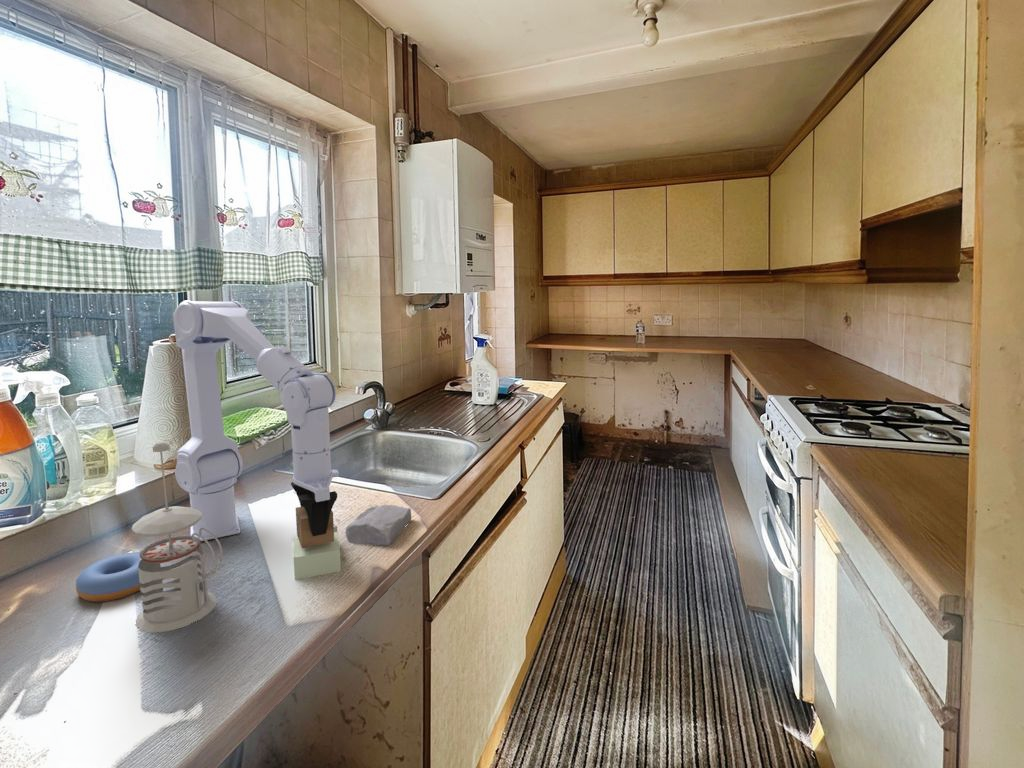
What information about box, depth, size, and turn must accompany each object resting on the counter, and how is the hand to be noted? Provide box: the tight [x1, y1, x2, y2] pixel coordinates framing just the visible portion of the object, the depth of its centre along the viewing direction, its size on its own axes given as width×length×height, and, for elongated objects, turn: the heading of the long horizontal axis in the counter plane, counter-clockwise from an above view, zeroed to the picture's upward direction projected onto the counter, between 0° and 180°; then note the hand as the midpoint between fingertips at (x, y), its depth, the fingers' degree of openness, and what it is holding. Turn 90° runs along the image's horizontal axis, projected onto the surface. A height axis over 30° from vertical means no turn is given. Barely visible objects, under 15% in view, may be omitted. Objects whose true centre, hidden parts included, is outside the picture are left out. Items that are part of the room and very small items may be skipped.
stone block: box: [345, 504, 412, 547], centre depth 97 cm, size 12×5×10 cm
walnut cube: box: [295, 506, 335, 548], centre depth 83 cm, size 5×5×5 cm
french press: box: [131, 441, 223, 633], centre depth 70 cm, size 10×12×25 cm
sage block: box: [293, 531, 342, 580], centre depth 84 cm, size 7×7×4 cm
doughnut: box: [75, 551, 142, 603], centre depth 77 cm, size 10×10×5 cm
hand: (315, 527), depth 83 cm, fingers open, 5 cm apart
